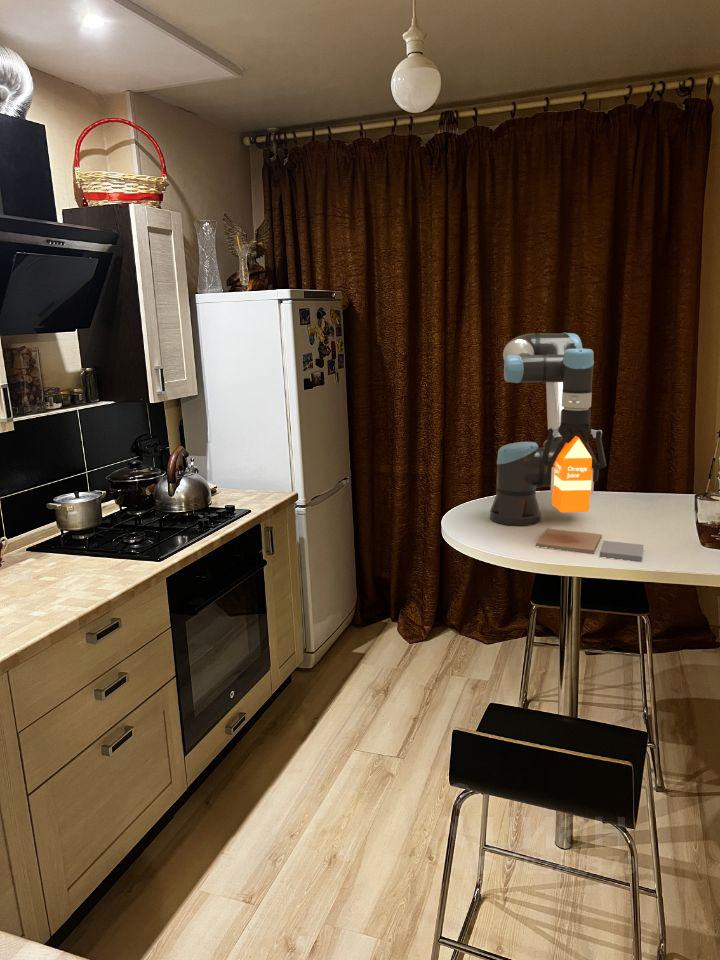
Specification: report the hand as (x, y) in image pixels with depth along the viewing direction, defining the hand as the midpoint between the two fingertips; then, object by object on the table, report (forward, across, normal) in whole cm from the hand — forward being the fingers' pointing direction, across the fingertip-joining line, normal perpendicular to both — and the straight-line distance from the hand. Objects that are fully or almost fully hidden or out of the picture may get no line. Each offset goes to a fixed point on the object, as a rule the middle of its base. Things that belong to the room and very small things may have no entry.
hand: (571, 491), depth 196 cm
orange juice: (+5, 0, 0) cm, 5 cm away
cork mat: (+14, 0, 0) cm, 14 cm away
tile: (+14, +14, -4) cm, 20 cm away
